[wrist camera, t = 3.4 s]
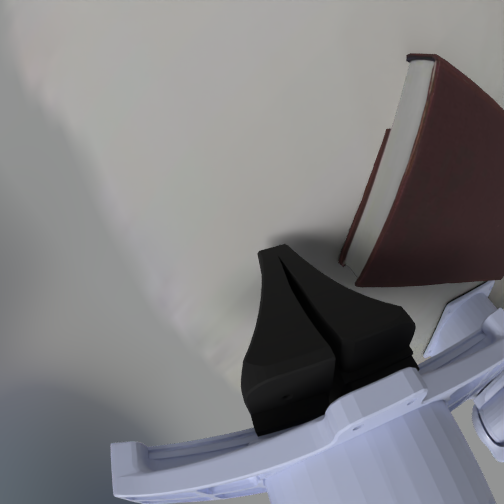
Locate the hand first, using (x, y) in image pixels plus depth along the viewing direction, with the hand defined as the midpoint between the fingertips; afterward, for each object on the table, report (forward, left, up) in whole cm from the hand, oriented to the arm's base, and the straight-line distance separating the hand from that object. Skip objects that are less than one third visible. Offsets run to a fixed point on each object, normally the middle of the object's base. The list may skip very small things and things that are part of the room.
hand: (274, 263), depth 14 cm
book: (0, -15, -2) cm, 15 cm away
